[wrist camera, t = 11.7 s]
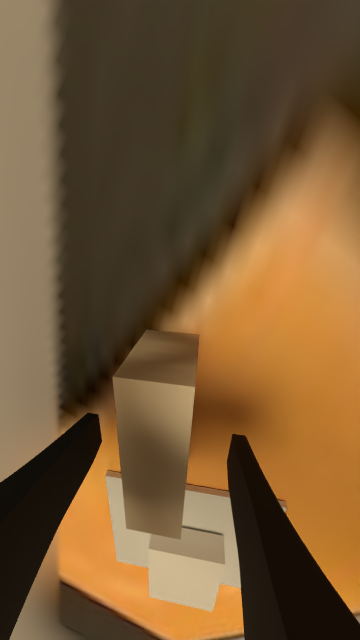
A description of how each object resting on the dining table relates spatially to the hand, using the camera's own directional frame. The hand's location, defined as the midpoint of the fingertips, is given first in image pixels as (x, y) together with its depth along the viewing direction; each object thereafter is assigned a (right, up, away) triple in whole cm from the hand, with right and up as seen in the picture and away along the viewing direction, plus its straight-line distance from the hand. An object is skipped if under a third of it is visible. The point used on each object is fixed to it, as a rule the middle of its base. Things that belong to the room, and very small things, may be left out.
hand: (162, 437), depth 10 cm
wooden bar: (0, +1, +3) cm, 3 cm away
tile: (+2, -12, +6) cm, 13 cm away
